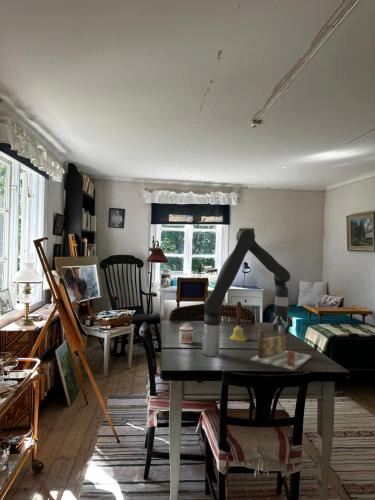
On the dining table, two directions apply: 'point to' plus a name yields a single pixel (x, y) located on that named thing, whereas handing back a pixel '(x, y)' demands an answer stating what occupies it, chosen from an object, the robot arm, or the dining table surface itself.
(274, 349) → the wooden panel
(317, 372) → the dining table surface
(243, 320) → the dining table surface
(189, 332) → the teacup with lid
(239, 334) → the handbell
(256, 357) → the towel on rod
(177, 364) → the dining table surface
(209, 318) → the robot arm
